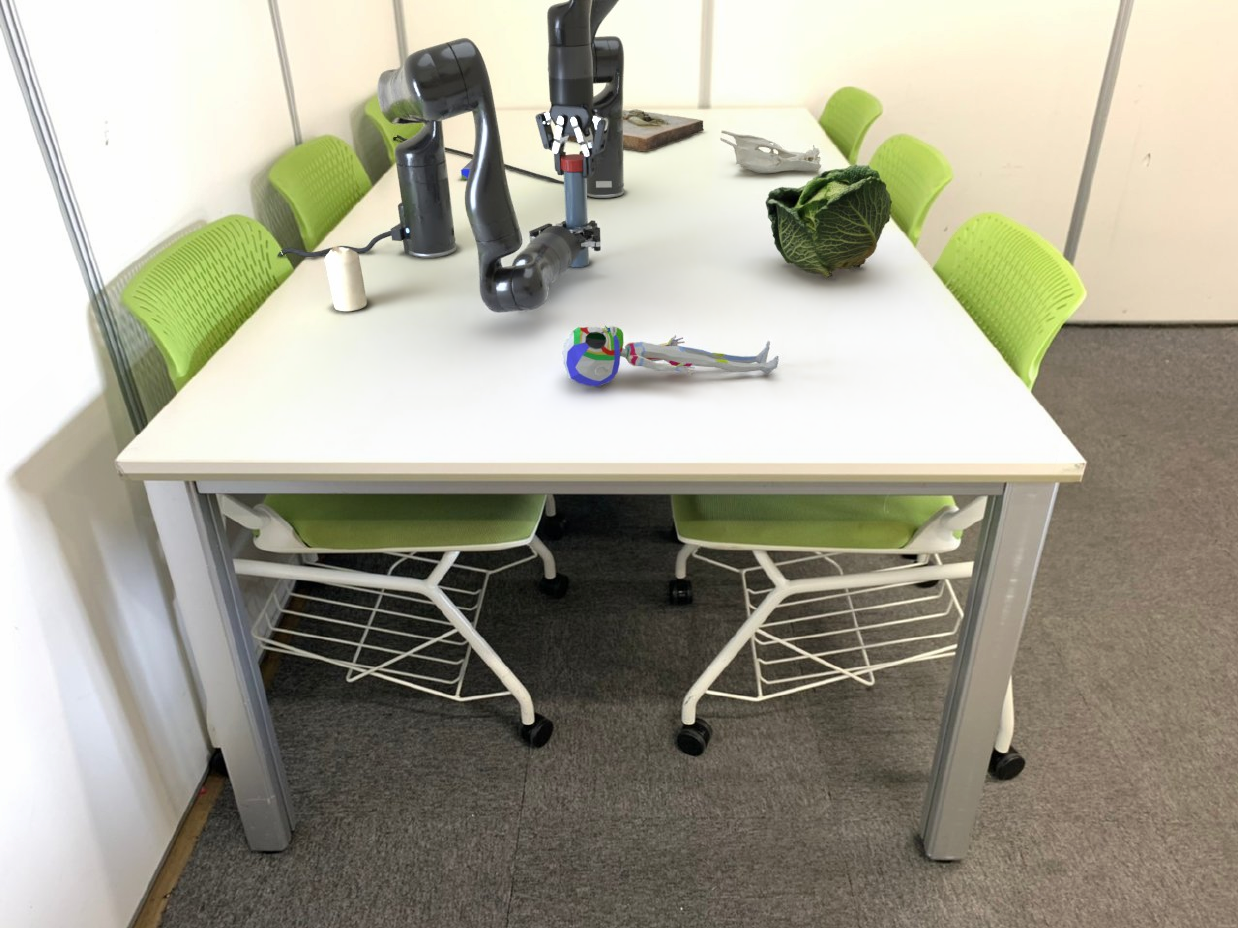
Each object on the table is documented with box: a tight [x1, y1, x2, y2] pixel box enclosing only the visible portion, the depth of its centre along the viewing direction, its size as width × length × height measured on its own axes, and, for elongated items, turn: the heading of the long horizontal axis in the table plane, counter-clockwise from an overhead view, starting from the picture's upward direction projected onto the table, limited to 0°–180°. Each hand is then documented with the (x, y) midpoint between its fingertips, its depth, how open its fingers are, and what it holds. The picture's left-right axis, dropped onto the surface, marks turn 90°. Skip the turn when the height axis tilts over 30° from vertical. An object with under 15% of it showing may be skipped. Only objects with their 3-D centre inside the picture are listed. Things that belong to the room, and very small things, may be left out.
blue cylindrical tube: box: [563, 171, 590, 268], centre depth 164 cm, size 4×4×19 cm
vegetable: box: [765, 164, 893, 278], centre depth 160 cm, size 20×19×20 cm
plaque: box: [567, 108, 705, 152], centre depth 257 cm, size 30×7×30 cm
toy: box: [561, 325, 780, 387], centre depth 127 cm, size 10×8×30 cm
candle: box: [324, 246, 368, 312], centre depth 150 cm, size 6×6×10 cm
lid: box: [561, 153, 584, 172], centre depth 159 cm, size 5×5×2 cm
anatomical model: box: [720, 130, 822, 174], centre depth 222 cm, size 15×9×25 cm
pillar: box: [460, 159, 472, 180], centre depth 228 cm, size 2×2×20 cm
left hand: (581, 224), depth 168 cm, fingers closed on blue cylindrical tube, 4 cm apart
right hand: (574, 175), depth 160 cm, fingers closed on lid, 4 cm apart
